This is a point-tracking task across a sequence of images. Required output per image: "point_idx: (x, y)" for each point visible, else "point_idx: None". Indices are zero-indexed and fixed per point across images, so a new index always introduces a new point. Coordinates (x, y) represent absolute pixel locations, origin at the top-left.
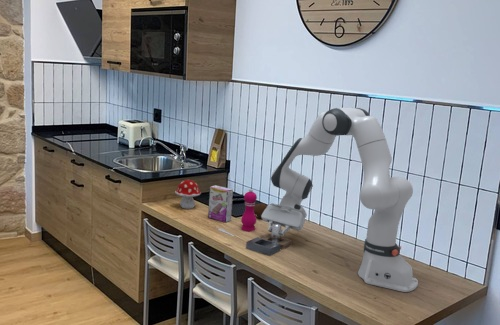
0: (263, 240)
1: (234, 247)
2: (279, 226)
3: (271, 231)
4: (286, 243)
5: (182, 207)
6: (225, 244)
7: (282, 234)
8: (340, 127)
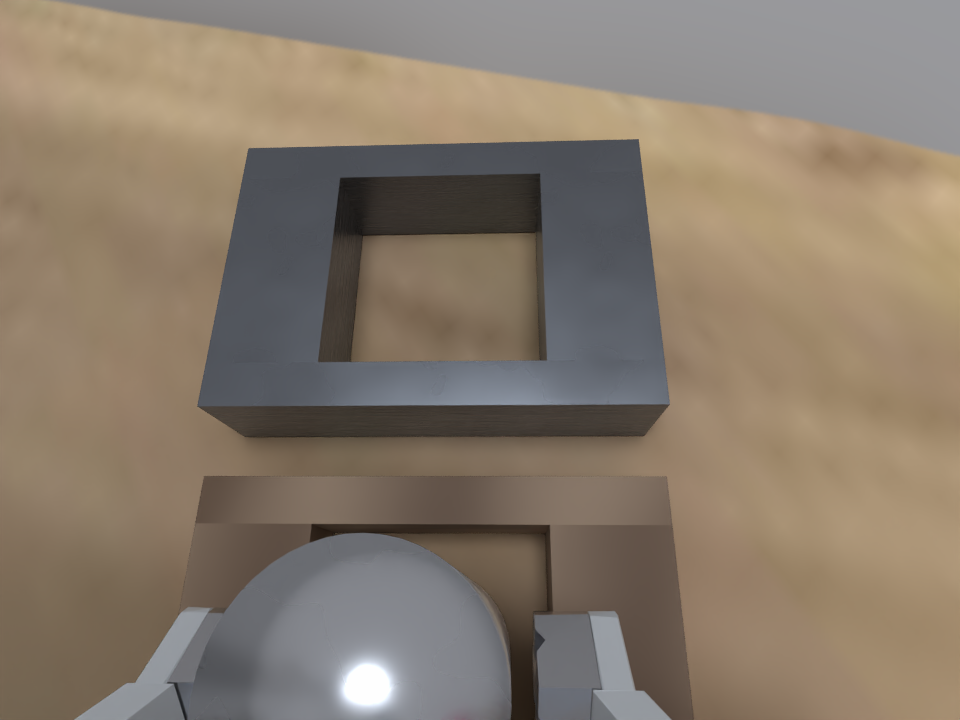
0: (506, 362)
1: (734, 143)
2: (224, 625)
3: (534, 664)
4: None
5: None
6: (875, 142)
7: (200, 613)
8: None
